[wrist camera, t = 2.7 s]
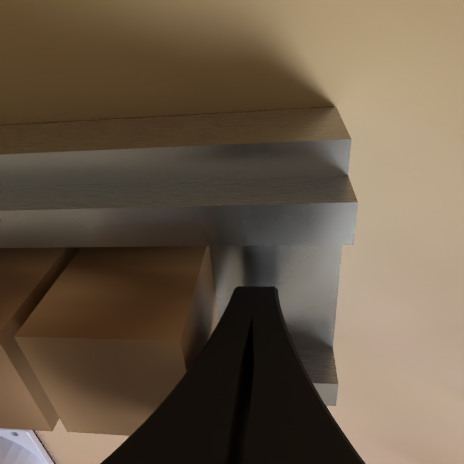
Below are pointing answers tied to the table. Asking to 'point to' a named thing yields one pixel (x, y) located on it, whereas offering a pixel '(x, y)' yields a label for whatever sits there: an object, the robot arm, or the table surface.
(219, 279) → the rail
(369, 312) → the table surface
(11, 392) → the block
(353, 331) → the table surface
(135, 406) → the block
